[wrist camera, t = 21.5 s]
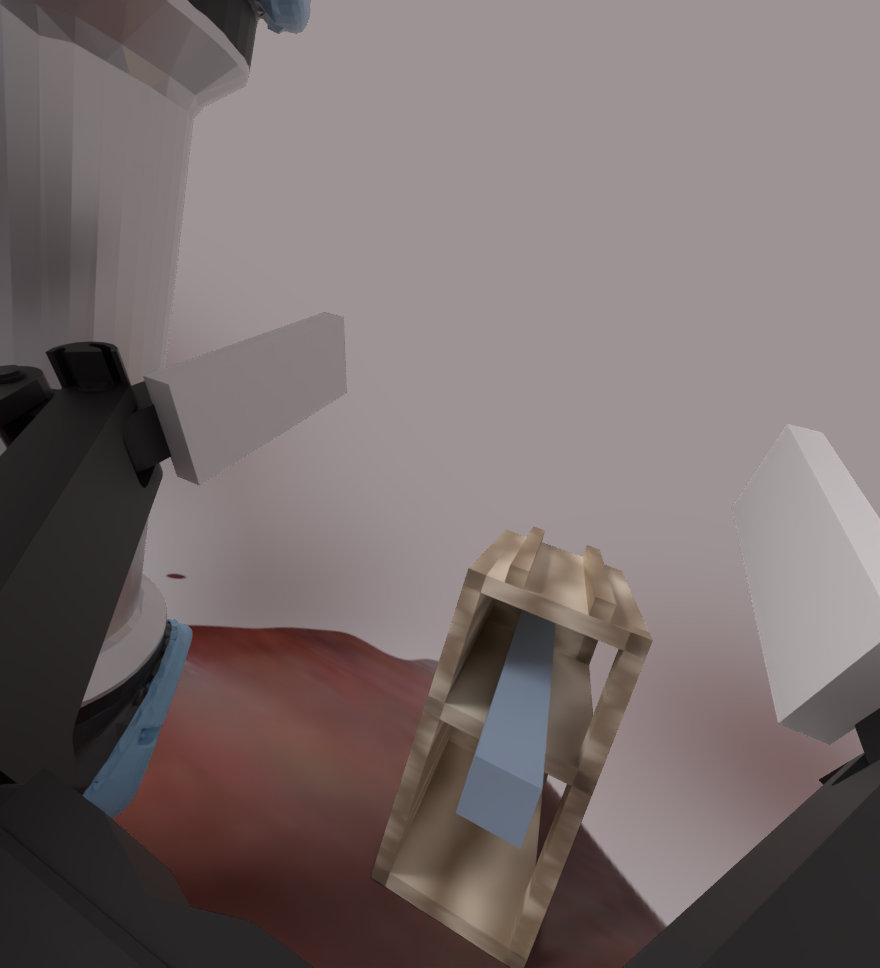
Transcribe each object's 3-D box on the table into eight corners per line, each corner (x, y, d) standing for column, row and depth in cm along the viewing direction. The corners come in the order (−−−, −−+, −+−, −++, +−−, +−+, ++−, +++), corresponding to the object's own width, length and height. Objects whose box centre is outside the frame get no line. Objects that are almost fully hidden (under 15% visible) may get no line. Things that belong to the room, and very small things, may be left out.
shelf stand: (370, 877, 38) (474, 550, 33) (438, 738, 57) (509, 518, 53) (521, 974, 34) (660, 621, 30) (539, 790, 53) (625, 558, 49)
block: (455, 812, 25) (475, 755, 25) (512, 638, 50) (522, 607, 50) (520, 848, 24) (542, 789, 24) (545, 652, 49) (556, 621, 49)
